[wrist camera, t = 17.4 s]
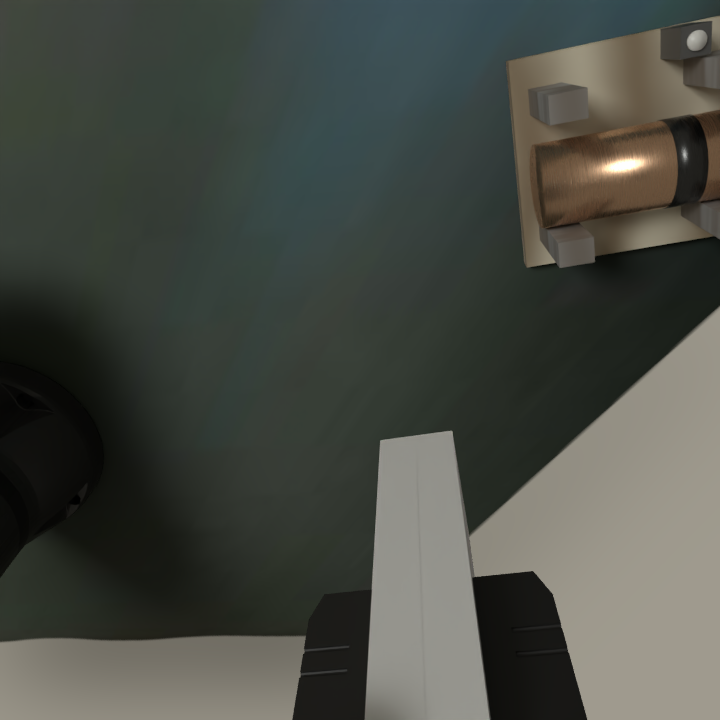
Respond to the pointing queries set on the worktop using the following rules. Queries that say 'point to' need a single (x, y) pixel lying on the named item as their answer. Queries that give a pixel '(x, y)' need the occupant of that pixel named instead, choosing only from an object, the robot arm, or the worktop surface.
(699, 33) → the post
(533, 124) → the board
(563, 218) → the tube
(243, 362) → the worktop surface
